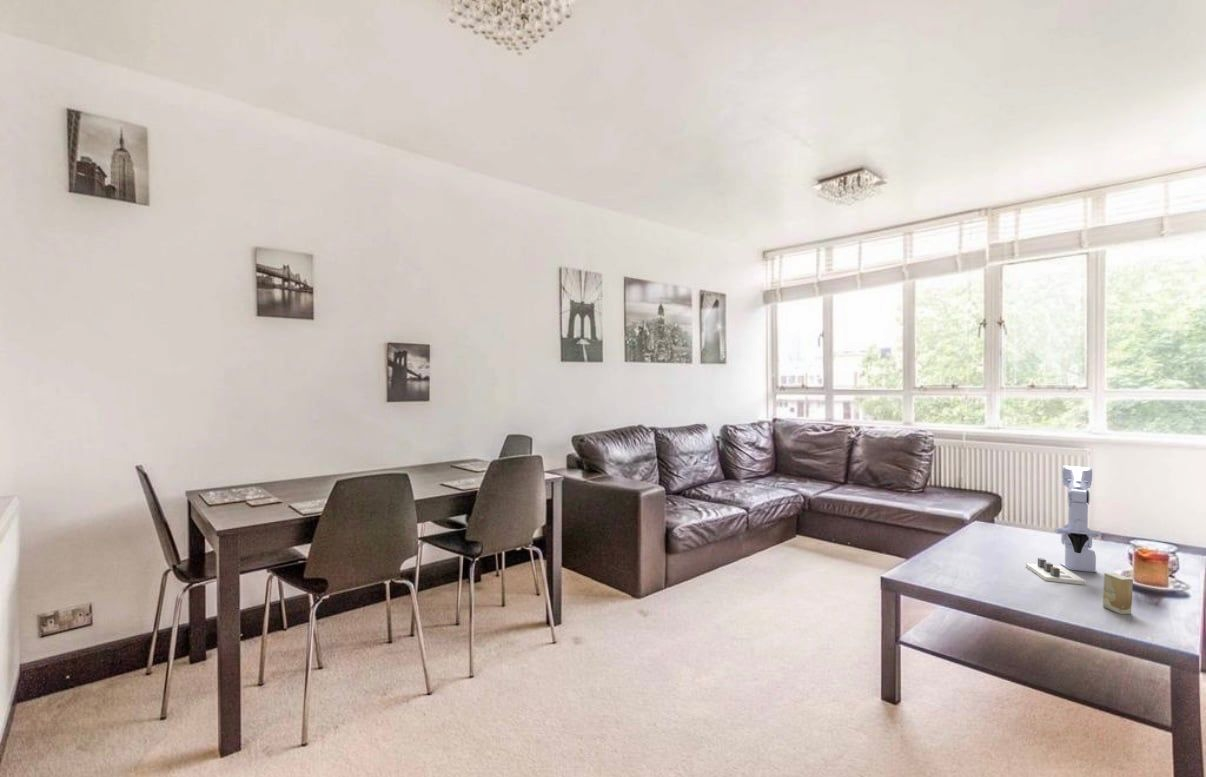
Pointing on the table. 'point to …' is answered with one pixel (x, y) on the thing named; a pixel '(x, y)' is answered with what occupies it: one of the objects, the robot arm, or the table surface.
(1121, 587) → the skincare box
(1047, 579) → the breaker panel
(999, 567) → the table surface
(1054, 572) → the breaker
